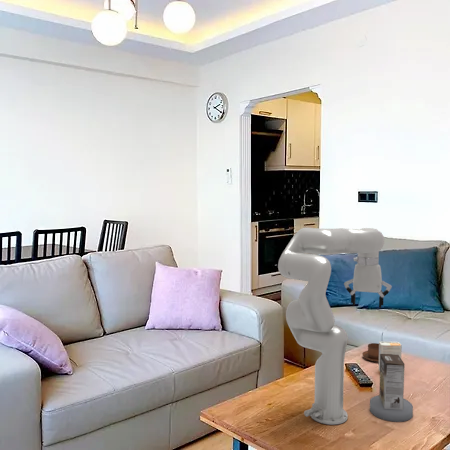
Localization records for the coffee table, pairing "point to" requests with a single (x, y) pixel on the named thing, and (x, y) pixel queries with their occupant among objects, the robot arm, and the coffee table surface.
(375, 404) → the podium
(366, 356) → the cup and saucer
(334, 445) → the coffee table surface
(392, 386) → the coffee box
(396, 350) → the supplement box
